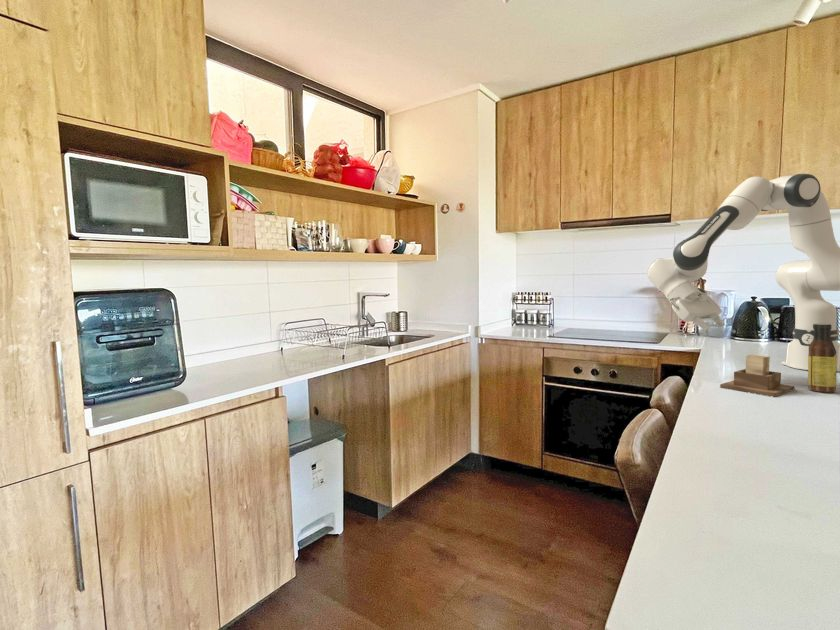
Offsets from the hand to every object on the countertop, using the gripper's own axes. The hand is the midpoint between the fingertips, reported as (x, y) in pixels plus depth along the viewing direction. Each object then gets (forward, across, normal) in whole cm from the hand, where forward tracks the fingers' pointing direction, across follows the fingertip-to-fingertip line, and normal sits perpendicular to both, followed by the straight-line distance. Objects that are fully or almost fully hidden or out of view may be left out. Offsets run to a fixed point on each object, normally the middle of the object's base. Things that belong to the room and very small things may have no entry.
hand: (715, 327), depth 146 cm
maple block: (+20, 0, +3) cm, 21 cm away
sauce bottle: (+30, +10, -4) cm, 32 cm away
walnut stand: (+21, 0, +4) cm, 22 cm away
